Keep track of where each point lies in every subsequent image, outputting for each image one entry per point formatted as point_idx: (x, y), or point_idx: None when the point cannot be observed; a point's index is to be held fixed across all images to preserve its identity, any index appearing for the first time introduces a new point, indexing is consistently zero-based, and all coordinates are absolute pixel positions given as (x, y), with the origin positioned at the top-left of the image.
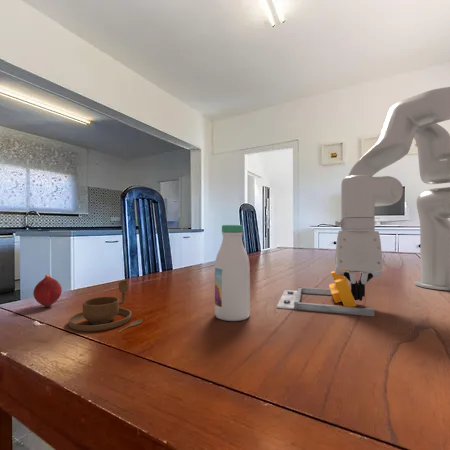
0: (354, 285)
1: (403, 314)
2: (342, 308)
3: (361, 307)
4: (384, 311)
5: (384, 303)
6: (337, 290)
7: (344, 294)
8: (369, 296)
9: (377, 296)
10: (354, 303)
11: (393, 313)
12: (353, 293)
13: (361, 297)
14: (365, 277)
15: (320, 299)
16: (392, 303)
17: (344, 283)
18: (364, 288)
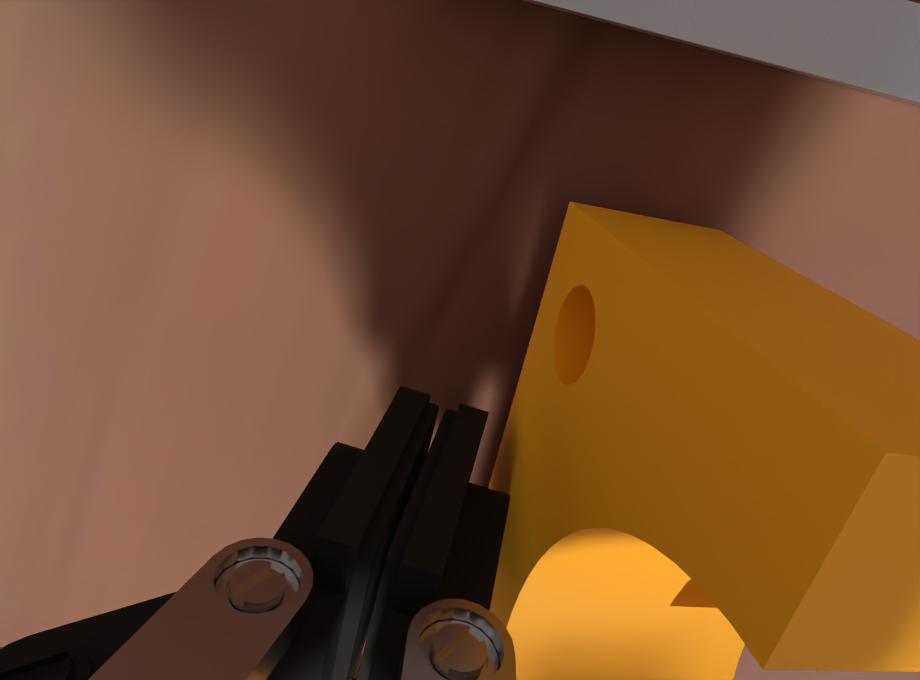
0: (442, 596)
1: (43, 48)
2: (911, 9)
3: (574, 2)
4: (223, 168)
5: (138, 463)
6: (649, 672)
7: (790, 292)
8: None
9: None
10: (597, 212)
11: (143, 85)
12: (484, 500)
13: (400, 407)
14: (170, 650)
15: None
16: (63, 459)
17: (890, 397)
18: (296, 512)
